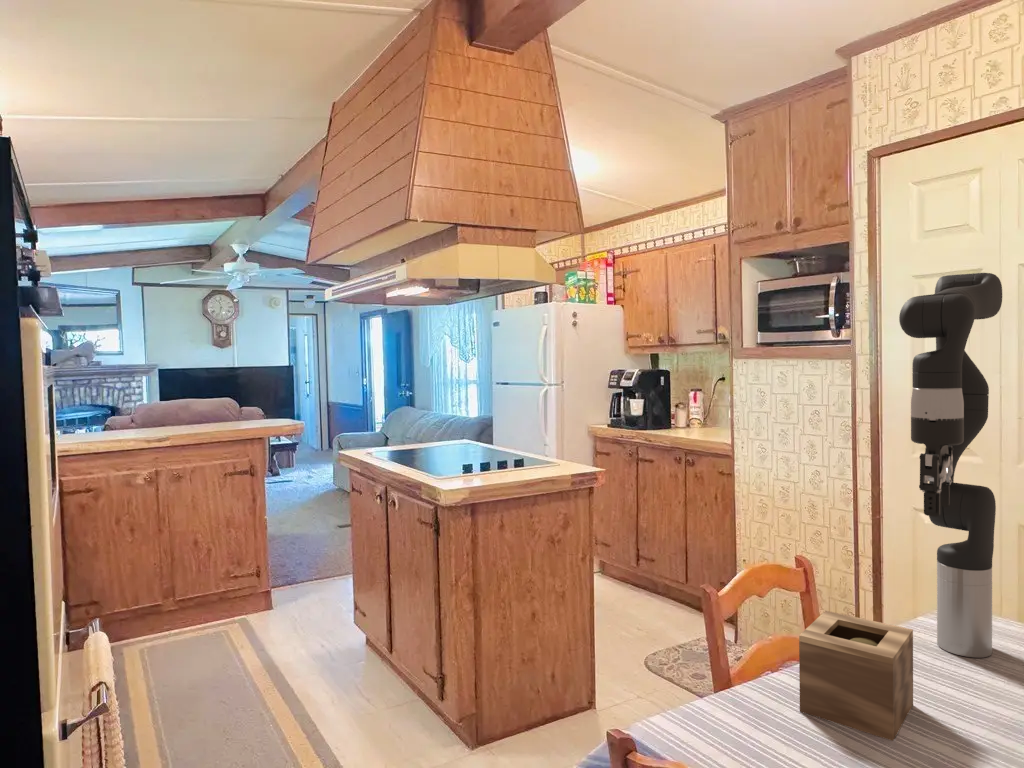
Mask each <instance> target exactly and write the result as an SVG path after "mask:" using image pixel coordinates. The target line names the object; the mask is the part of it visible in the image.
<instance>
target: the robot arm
mask: <svg viewBox="0 0 1024 768" xmlns="http://www.w3.org/2000/svg"><path fill="white" fill-rule="evenodd" d="M1002 303H1003V286H1002V282H1001V280H1000V278H999V276H997V275H996V274H994V273H992V272H991V273H990V272H976V273H975V272H974V273H963V274H962V273H960V274H949V275H942V276H940V277H939V278H938V279H937V281H936V284H935V288H934V294H933V293H932V294H925V295H917V296H912V297H911V298H909V299H907V301H905V302H904V304H903V305H902V307H901V309H900V312H899V316H898V317H899V319H898V320H899V321H898V322H899V326H900V328H901V330H902V331H903V332H904V334H906V335H907V336H909V337H911V338H915V339H929V338H930V339H931V338H935V350H932V351H926V352H921V353H919V354H916V355H915V356H914V357H913V360H912V368H911V369H912V373H911V374H912V391H911V397H910V440H911V442H913V443H915V444H918V445H919V444H920V445H924V446H925V448H924V449H925V450H924V453H920V454H919V485H918V486H919V490H920V491H921V492H922V493H923V514H924V515H925V516H928V518H929V520H930V522H931V523H932V524H933V525H934V526H936V527H937V526H938V527H942V528H948V529H955V530H959V531H960V530H961V531H966V532H968V534H967V535H968V536H967V539H966V540H963V541H959V542H951V543H944V544H942V545H939V546H938V547H937V550H936V583H937V584H936V621H937V622H936V643H937V645H938V647H939V648H941V649H942V650H944V651H946V652H949V653H951V654H954V655H957V656H963V657H965V658H966V657H967V658H987V657H990V656H991V655H992V654H993V557H994V548H995V547H994V546H995V543H994V541H995V540H994V539H995V526H996V512H997V511H996V510H997V508H996V507H997V506H996V498H995V494H994V492H993V491H992V489H990V488H989V487H988V486H984V485H983V486H982V485H977V484H970V483H969V484H967V483H961V482H960V483H959V482H954V481H955V480H954V477H955V472H956V468H957V464H958V462H959V460H960V458H961V456H962V455H963V453H964V452H965V450H966V449H967V447H968V446H969V445H970V444H971V443H972V442H973V441H974V439H976V437H977V436H978V434H979V433H980V432H981V430H982V429H983V427H985V425H986V423H987V420H988V417H989V398H990V397H989V393H990V391H989V390H990V389H989V388H990V387H989V384H988V382H987V380H986V378H985V376H984V375H983V374H982V372H981V371H980V369H979V368H978V366H977V365H976V363H974V361H973V360H972V359H971V357H970V356H969V355H968V353H967V352H966V346H967V342H968V339H969V337H970V333H971V331H972V329H973V325H974V322H975V321H976V320H985V319H990V318H993V317H995V316H996V315H997V314H998V313H999V312H1000V310H1001V307H1002Z"/></svg>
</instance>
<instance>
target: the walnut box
mask: <svg viewBox="0 0 1024 768" xmlns="http://www.w3.org/2000/svg"><path fill="white" fill-rule="evenodd" d="M856 637H861V638H867V639H870V640H873V641H875V642H876V643H878V645H877V647H876V646H872V645H868V644H863V643H859V642H855V641H851V640H850V639H852V638H856ZM798 641H799V642H798V644H799V645H798V647H799V648H798V649H799V652H798V653H799V658H798V659H799V660H798V661H799V667H798V668H799V669H798V670H799V676H798V677H799V712H801V713H803V712H804V714H807V715H810V716H813V717H816V716H817V717H816V718H819V717H820V718H819V719H823V720H826V721H829V722H832V723H835V724H839V725H841V726H845V727H848V728H851V729H854V730H856V731H861V732H863V733H866V734H870V735H873V736H876V737H878V738H882V739H884V740H885V739H886V740H888V741H891V742H894V741H895V739H896V737H897V735H898V734H899V732H900V730H901V728H902V726H903V724H904V722H905V721H906V719H907V717H908V715H909V714H910V712H911V709H913V706H914V629H911V628H907V627H903V626H898V625H893V624H889V623H884V622H880V621H875V620H870V619H866V618H861V617H857V616H851V615H847V614H843V613H838V612H833V611H829V610H825V611H823V612H822V613H821V615H819V616H818V617H817V618H816V619H814V620H813V622H812V623H811V624H809V625H808V626H807V627H806V628H805V629H804V630H803V631H802V632H801V633H800V634H799V636H798Z"/></svg>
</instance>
